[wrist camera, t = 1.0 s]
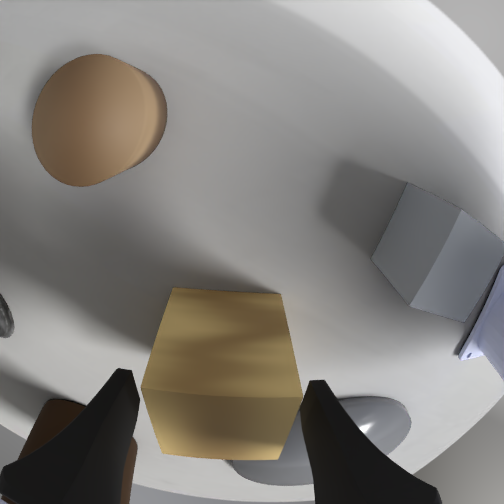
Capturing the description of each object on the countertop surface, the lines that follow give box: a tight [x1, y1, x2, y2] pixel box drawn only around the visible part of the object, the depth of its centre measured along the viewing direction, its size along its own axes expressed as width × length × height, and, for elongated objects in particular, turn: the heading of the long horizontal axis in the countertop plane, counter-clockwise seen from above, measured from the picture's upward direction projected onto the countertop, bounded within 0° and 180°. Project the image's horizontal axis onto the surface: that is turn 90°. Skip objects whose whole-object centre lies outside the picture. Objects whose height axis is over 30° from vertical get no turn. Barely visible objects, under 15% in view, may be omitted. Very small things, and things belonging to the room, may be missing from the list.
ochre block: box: [141, 287, 303, 460], centre depth 12 cm, size 5×5×6 cm
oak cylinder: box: [32, 54, 167, 187], centre depth 9 cm, size 4×4×3 cm
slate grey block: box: [371, 183, 504, 323], centre depth 11 cm, size 4×4×4 cm
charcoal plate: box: [232, 397, 411, 486], centre depth 20 cm, size 16×16×1 cm
